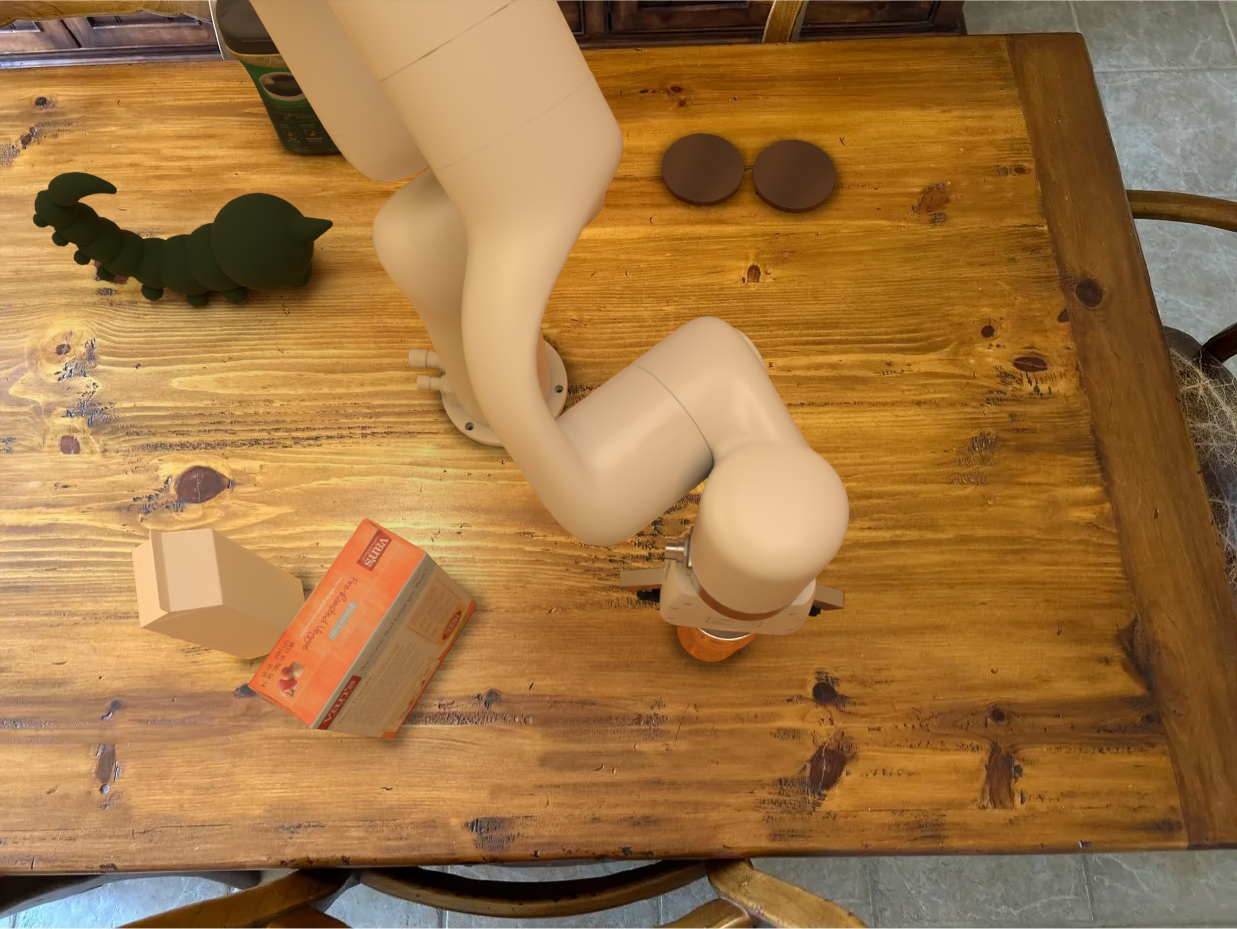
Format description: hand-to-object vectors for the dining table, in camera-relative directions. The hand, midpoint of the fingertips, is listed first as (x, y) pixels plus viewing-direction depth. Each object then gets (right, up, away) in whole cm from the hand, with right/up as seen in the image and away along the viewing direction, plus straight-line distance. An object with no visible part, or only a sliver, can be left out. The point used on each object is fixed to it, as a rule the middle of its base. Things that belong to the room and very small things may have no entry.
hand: (721, 608), depth 71 cm
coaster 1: (+1, +44, +26) cm, 51 cm away
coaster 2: (+11, +43, +26) cm, 51 cm away
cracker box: (-27, -6, +9) cm, 29 cm away
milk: (-40, -3, +11) cm, 41 cm away
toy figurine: (-49, +31, +23) cm, 62 cm away
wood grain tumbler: (0, -3, +10) cm, 10 cm away
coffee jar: (-42, +50, +29) cm, 71 cm away
